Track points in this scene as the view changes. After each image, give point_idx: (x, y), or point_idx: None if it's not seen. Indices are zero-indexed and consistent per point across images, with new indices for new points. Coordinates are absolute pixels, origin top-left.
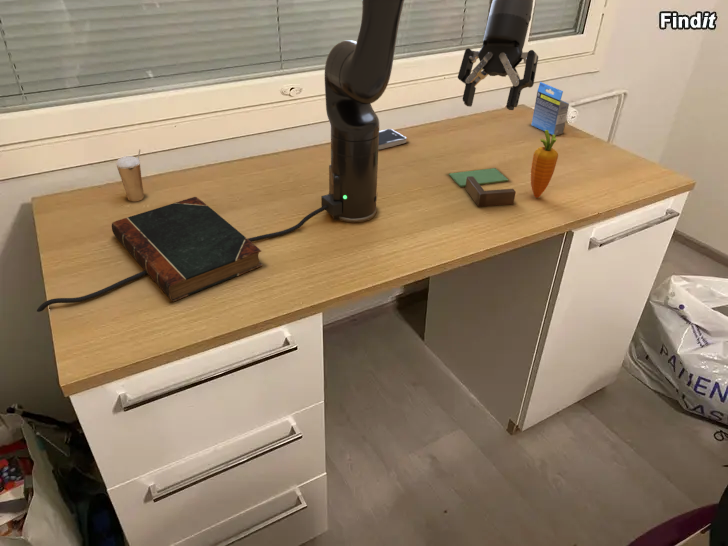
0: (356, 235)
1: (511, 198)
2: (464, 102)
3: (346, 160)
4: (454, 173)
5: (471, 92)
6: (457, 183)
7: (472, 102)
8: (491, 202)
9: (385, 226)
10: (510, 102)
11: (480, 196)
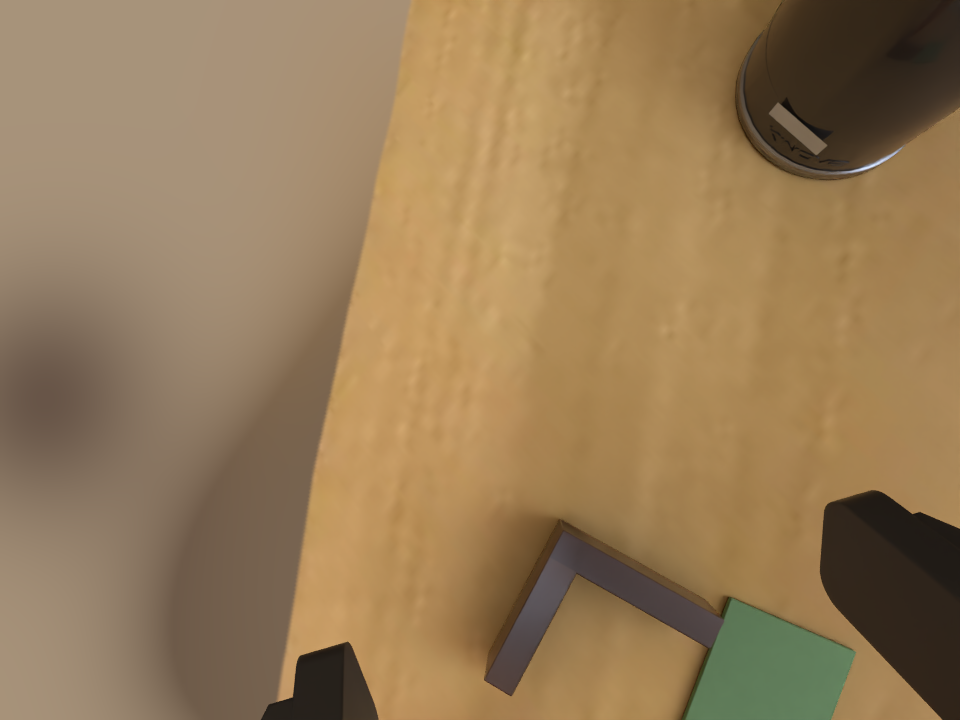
0: (679, 10)
1: (492, 653)
2: (873, 493)
3: None
4: (841, 673)
5: (951, 642)
6: (761, 610)
7: (856, 626)
8: (534, 570)
9: (665, 128)
10: (293, 694)
11: (561, 529)
